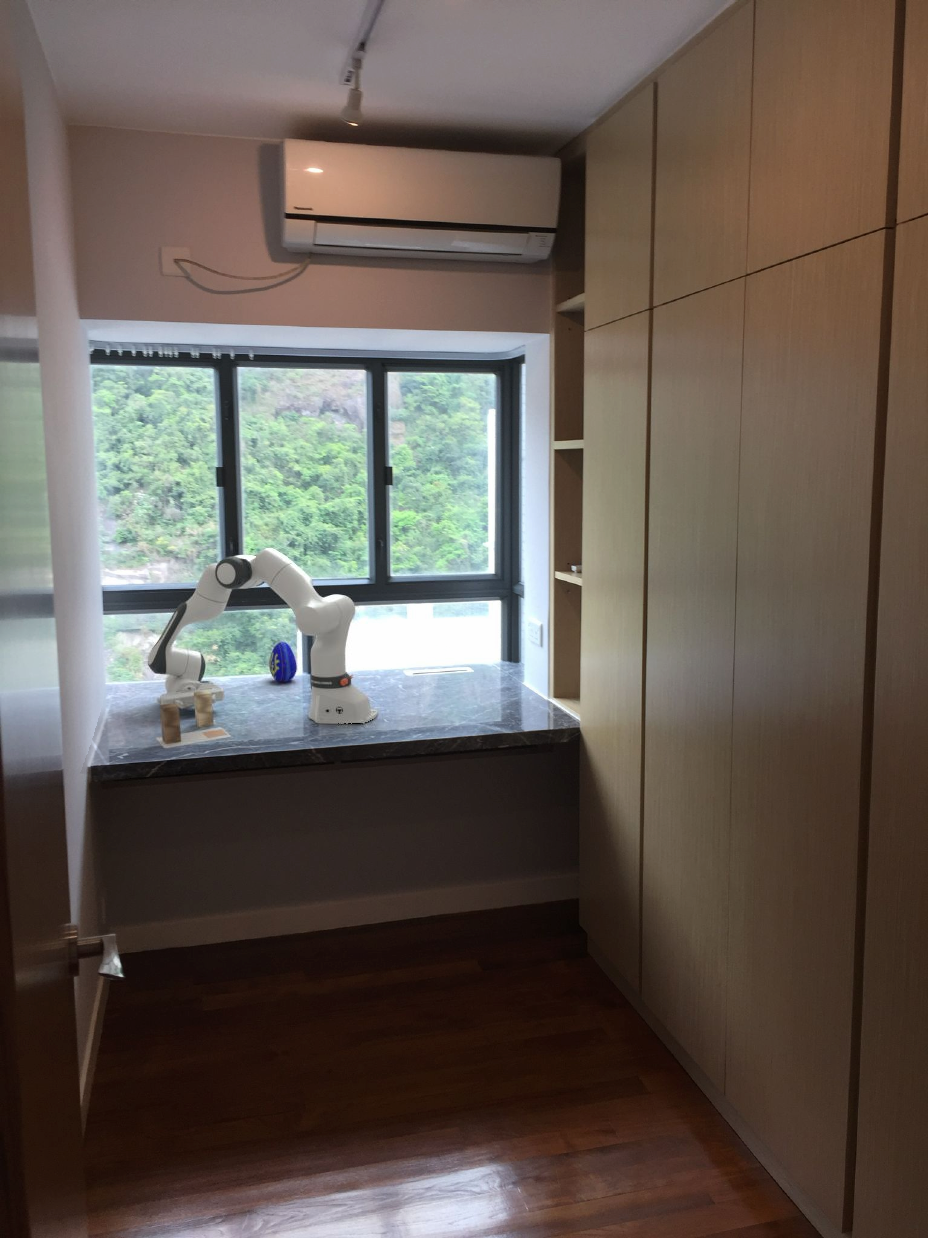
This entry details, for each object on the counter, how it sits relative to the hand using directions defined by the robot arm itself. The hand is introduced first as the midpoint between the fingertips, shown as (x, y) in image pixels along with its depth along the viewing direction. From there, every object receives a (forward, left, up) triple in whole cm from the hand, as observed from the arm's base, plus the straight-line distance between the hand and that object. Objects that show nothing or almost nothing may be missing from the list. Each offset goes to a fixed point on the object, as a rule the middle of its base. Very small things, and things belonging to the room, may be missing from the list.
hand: (198, 703), depth 303 cm
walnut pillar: (-4, +21, -5) cm, 23 cm away
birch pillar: (-5, +4, -6) cm, 9 cm away
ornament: (-3, -51, -6) cm, 52 cm away
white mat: (-8, +17, -6) cm, 20 cm away
